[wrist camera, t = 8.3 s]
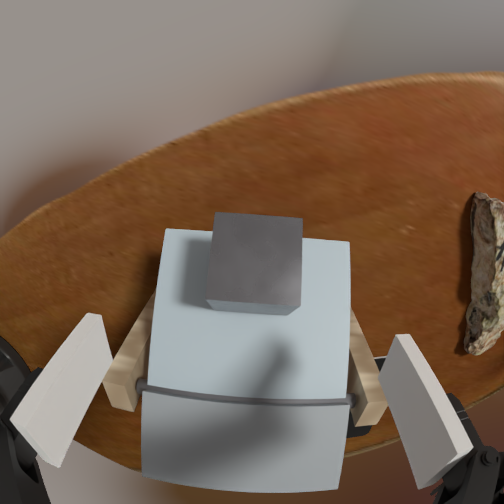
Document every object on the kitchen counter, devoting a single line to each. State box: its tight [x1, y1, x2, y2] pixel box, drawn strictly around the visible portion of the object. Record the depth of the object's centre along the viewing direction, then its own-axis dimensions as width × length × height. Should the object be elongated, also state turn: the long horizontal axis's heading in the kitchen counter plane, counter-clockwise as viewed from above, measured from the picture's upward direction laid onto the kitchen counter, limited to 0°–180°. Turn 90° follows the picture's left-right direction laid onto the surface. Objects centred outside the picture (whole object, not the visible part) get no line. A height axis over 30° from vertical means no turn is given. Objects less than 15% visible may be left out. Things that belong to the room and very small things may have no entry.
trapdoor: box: [136, 229, 356, 493], centre depth 20 cm, size 19×16×4 cm
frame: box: [102, 288, 388, 427], centre depth 24 cm, size 20×3×15 cm, turn 86°
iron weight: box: [205, 212, 303, 316], centre depth 18 cm, size 5×5×5 cm
